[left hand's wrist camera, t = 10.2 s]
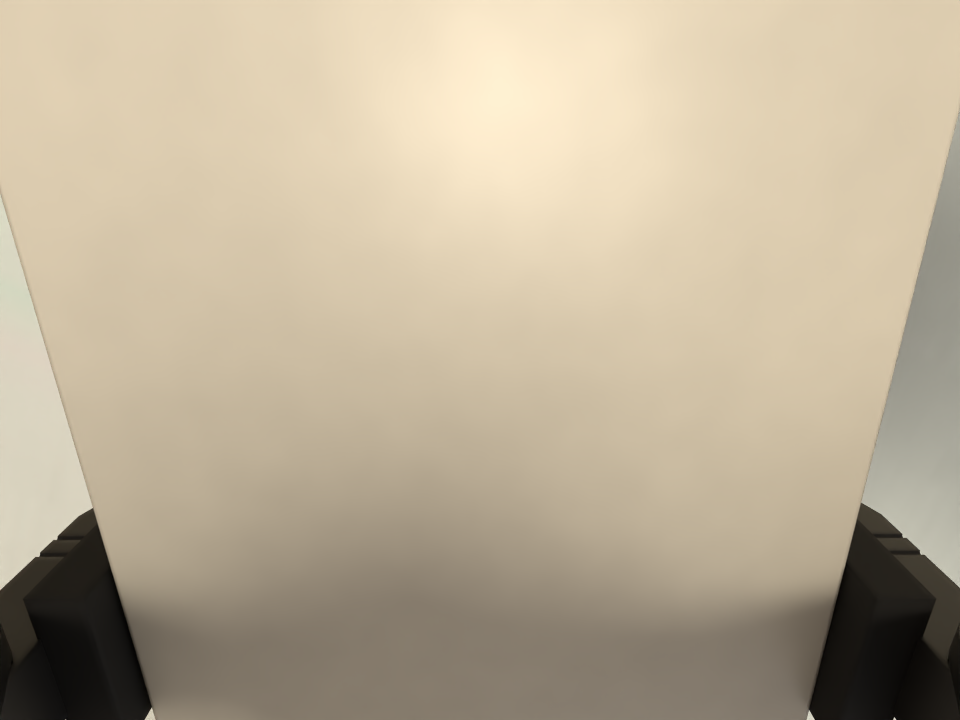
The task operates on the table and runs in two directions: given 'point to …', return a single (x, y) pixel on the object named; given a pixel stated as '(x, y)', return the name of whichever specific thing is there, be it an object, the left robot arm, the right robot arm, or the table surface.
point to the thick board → (475, 335)
